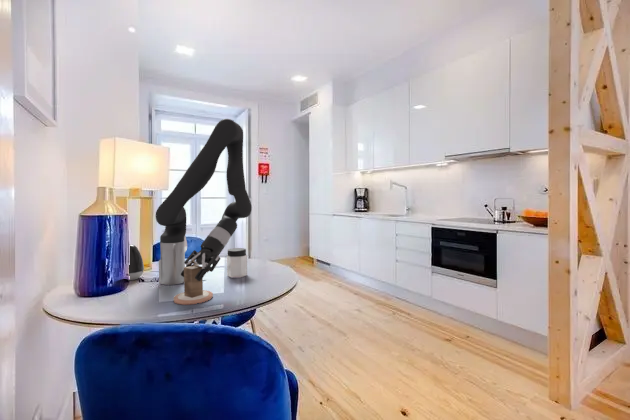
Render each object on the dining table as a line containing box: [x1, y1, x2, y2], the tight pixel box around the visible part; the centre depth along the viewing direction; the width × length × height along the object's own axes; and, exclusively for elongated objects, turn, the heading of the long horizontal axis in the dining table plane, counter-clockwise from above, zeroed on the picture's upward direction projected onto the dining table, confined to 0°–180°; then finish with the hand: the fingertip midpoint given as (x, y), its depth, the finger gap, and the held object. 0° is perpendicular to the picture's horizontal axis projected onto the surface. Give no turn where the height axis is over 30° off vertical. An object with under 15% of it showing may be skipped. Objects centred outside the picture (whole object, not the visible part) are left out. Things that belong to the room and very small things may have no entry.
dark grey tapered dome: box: [129, 244, 145, 281], centre depth 140 cm, size 10×10×15 cm
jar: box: [226, 247, 248, 279], centre depth 145 cm, size 9×8×12 cm
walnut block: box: [183, 265, 204, 298], centre depth 113 cm, size 4×4×10 cm
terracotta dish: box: [173, 289, 214, 306], centre depth 113 cm, size 13×13×1 cm
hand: (189, 277), depth 112 cm, fingers open, 8 cm apart
